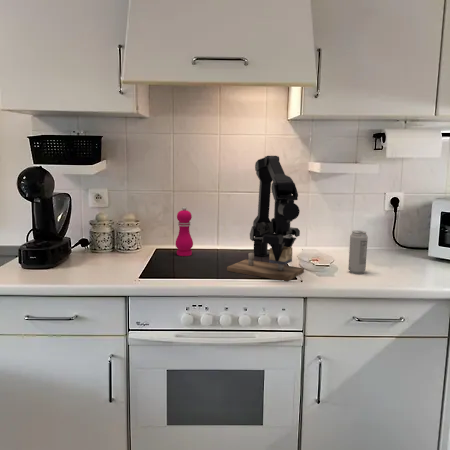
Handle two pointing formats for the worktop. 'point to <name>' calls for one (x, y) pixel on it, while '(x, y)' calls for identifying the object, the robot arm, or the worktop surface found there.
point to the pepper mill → (184, 233)
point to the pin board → (265, 269)
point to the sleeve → (282, 256)
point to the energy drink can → (358, 252)
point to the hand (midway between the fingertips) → (280, 259)
